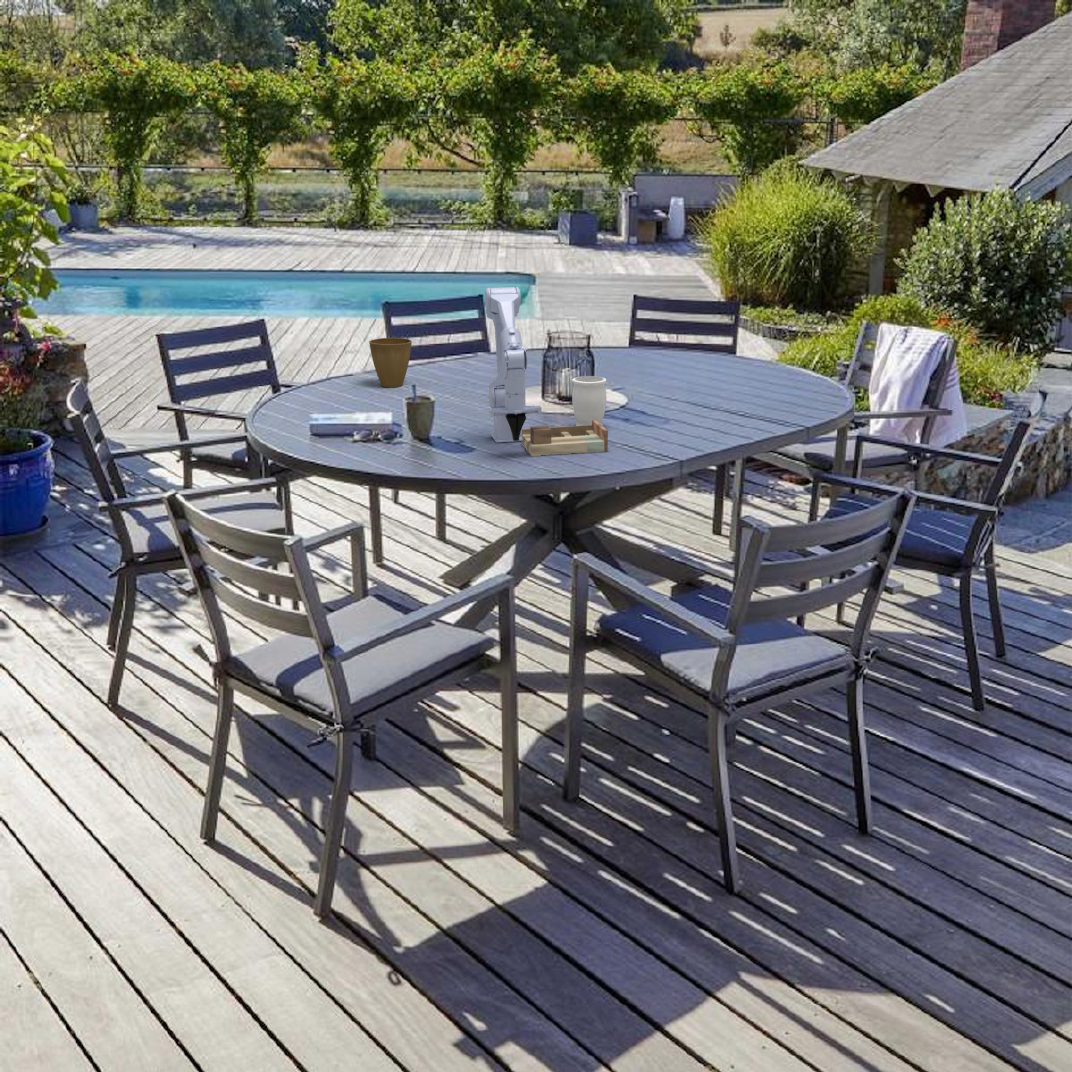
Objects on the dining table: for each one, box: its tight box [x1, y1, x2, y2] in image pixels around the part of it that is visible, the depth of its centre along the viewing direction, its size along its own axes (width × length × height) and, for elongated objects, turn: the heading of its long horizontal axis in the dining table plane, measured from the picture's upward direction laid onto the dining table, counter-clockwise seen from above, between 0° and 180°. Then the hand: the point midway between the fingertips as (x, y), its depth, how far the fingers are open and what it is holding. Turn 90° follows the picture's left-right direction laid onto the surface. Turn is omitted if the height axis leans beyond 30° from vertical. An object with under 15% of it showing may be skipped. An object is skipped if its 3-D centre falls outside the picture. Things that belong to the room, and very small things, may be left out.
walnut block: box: [529, 425, 551, 444], centre depth 355 cm, size 5×5×4 cm
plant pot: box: [368, 337, 413, 388], centre depth 443 cm, size 15×15×16 cm
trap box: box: [521, 420, 609, 457], centre depth 359 cm, size 14×22×6 cm, turn 102°
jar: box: [571, 375, 607, 427], centre depth 381 cm, size 11×10×15 cm
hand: (515, 439), depth 354 cm, fingers closed
